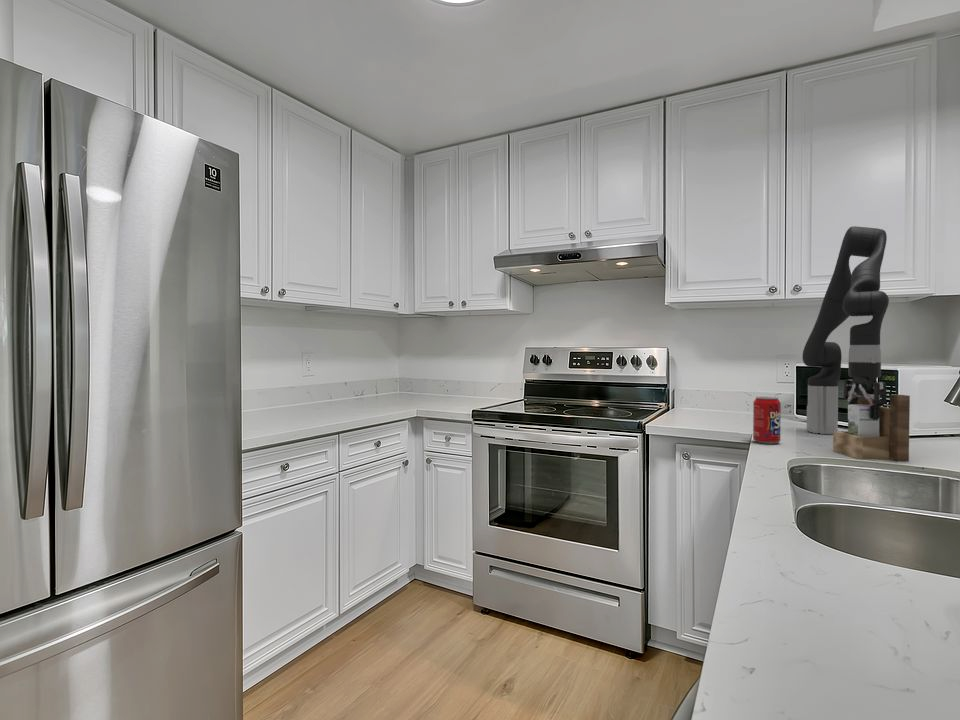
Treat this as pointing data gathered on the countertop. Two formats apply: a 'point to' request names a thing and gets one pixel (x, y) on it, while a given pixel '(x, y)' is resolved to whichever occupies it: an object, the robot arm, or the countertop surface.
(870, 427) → the syrup box
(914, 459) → the countertop surface
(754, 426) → the soda can
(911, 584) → the countertop surface
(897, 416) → the wooden stand
